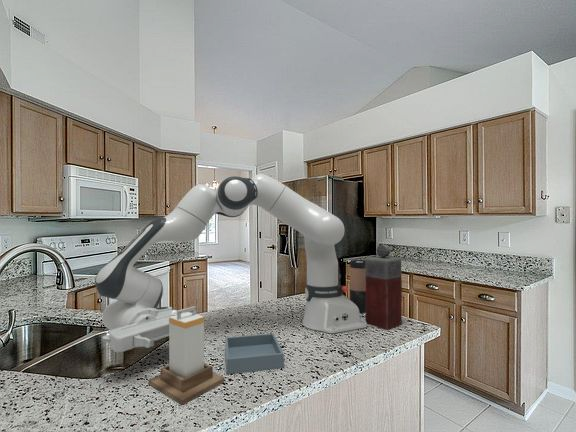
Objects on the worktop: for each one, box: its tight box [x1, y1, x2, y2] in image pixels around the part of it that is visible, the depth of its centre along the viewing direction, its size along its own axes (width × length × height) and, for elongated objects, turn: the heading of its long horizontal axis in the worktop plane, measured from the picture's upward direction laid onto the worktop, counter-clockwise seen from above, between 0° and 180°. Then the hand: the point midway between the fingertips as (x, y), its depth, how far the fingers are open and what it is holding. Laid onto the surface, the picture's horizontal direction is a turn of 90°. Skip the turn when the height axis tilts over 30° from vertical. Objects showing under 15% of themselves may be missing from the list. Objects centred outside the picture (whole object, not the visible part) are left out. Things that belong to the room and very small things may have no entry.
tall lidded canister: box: [168, 305, 205, 378], centre depth 70 cm, size 6×5×16 cm
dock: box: [147, 362, 226, 406], centre depth 70 cm, size 13×11×4 cm
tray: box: [224, 333, 285, 375], centre depth 83 cm, size 14×14×4 cm
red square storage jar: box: [365, 244, 403, 331], centre depth 110 cm, size 9×11×28 cm
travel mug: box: [349, 259, 366, 314], centre depth 125 cm, size 8×8×20 cm
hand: (170, 337), depth 75 cm, fingers open, 8 cm apart
